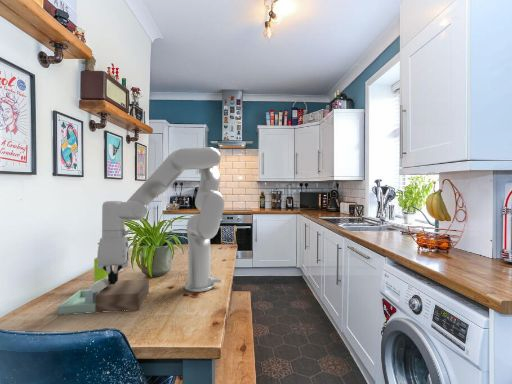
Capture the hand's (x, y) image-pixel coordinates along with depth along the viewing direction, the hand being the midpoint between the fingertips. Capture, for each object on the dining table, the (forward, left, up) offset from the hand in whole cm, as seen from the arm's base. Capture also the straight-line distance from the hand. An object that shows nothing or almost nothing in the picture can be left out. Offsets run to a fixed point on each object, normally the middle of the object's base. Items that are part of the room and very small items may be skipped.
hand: (113, 283), depth 106 cm
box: (+9, 0, -8) cm, 12 cm away
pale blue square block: (+6, -1, -4) cm, 8 cm away
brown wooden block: (-4, 0, -8) cm, 9 cm away
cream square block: (+4, 0, -2) cm, 4 cm away
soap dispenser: (+10, -18, -8) cm, 22 cm away
